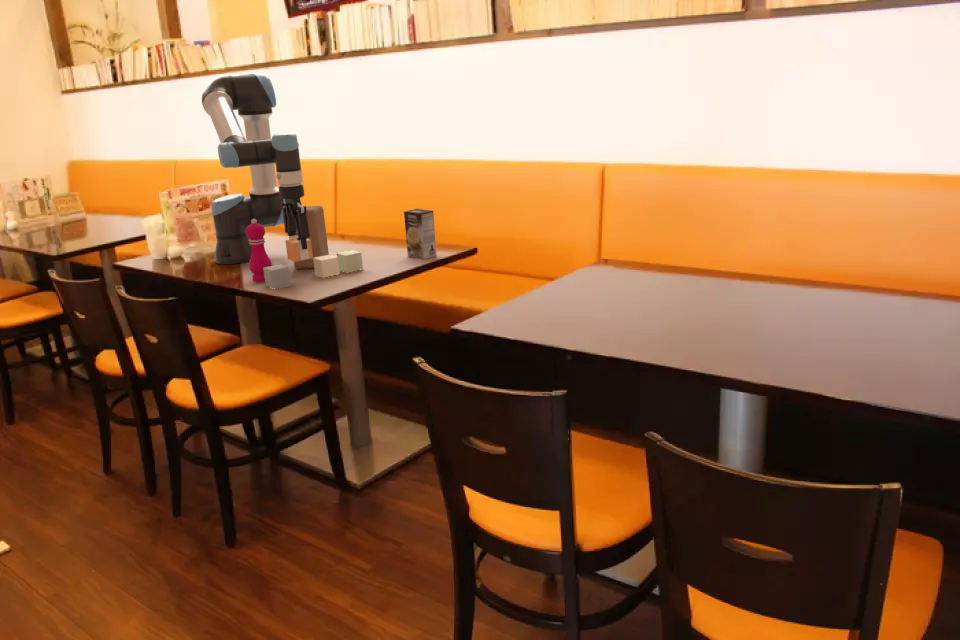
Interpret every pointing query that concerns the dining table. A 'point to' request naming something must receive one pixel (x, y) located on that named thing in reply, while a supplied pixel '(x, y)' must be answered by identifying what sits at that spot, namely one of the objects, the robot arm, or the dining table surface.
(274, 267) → the grey cube
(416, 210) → the coffee box
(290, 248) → the orange cube
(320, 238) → the wooden block
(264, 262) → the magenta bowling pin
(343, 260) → the sage cube
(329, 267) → the cream cube
